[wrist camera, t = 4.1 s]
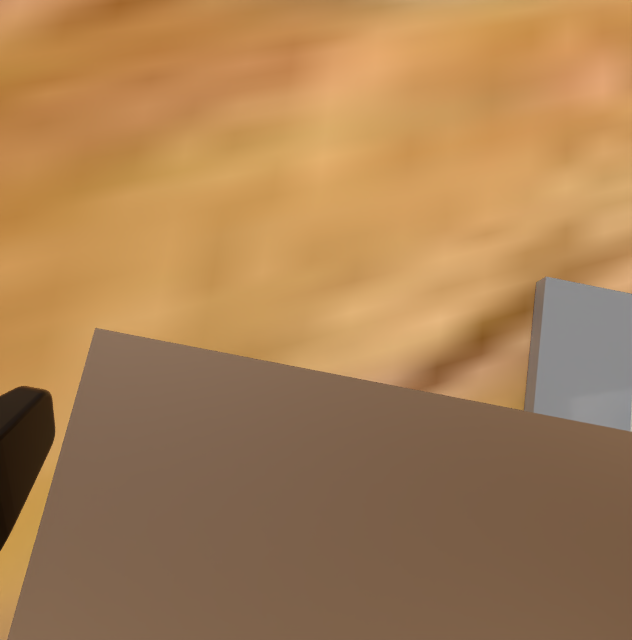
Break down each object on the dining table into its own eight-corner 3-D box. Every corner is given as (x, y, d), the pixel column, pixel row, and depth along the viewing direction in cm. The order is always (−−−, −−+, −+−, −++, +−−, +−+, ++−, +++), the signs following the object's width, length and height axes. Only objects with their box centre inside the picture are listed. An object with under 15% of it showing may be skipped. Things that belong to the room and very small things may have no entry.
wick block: (354, 599, 14) (710, 1312, 3) (201, 571, 14) (-150, 1192, 2) (377, 443, 15) (722, 449, 3) (235, 416, 15) (95, 328, 3)
